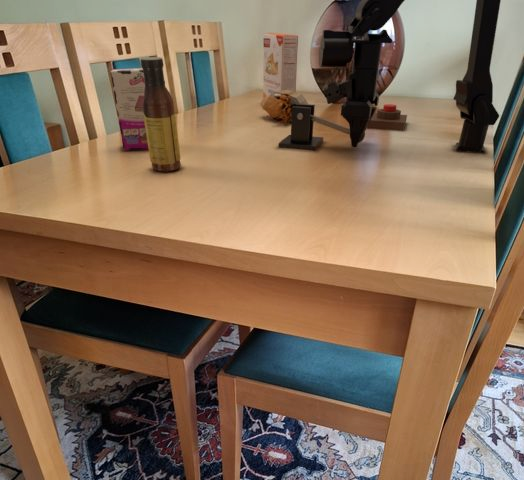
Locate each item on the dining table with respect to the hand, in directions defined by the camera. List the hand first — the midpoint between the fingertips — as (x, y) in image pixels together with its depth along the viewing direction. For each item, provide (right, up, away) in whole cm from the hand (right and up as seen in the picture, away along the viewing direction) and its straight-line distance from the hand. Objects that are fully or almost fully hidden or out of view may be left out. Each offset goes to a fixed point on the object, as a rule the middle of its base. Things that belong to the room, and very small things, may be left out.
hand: (356, 143), depth 111 cm
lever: (-7, +3, +1) cm, 7 cm away
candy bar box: (-51, -1, +1) cm, 51 cm away
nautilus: (-17, +20, +29) cm, 39 cm away
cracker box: (-17, +35, +49) cm, 62 cm away
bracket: (-13, +1, +4) cm, 14 cm away
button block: (+14, +16, +24) cm, 32 cm away
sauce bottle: (-43, -12, -13) cm, 47 cm away
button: (+14, +19, +22) cm, 32 cm away
